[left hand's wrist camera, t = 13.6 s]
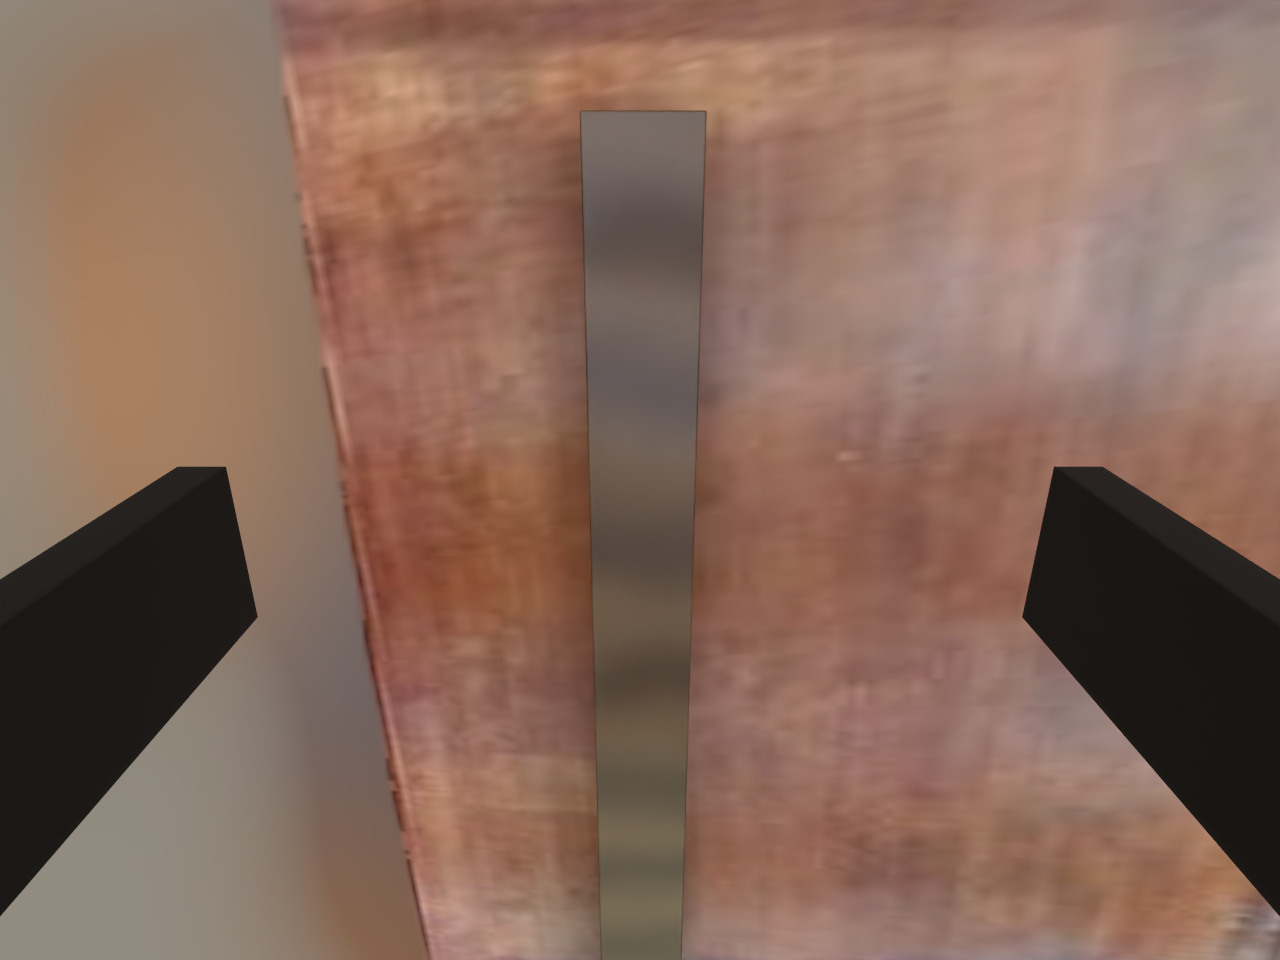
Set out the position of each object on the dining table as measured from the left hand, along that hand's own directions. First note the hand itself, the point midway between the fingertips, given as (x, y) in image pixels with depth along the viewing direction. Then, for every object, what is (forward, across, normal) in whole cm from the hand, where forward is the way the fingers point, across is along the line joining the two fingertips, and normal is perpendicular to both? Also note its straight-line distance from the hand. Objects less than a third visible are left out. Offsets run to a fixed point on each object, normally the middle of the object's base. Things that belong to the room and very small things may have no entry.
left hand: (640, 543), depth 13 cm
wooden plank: (+27, 0, -22) cm, 35 cm away
